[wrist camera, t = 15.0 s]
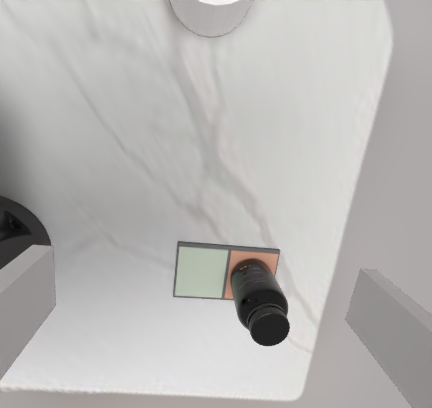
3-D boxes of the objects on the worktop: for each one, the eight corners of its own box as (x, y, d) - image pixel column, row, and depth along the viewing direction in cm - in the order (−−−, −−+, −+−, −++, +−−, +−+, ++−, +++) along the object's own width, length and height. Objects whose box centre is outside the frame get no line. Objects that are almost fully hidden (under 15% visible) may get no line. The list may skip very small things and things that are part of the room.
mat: (173, 295, 45) (173, 298, 44) (178, 241, 42) (177, 243, 41) (268, 300, 47) (270, 303, 46) (279, 249, 44) (280, 251, 43)
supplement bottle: (277, 284, 45) (306, 341, 33) (239, 301, 45) (254, 362, 34) (262, 250, 43) (287, 297, 31) (222, 267, 43) (232, 321, 32)
